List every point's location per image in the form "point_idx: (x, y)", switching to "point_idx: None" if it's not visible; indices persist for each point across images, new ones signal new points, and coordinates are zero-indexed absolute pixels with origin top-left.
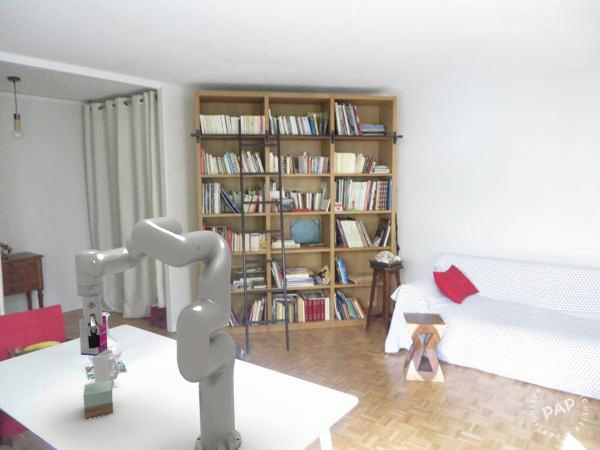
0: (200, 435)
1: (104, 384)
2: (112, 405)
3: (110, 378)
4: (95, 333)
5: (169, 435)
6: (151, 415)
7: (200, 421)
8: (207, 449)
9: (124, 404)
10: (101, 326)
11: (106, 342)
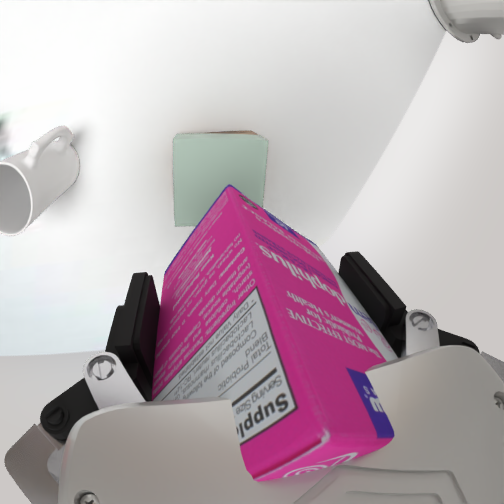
0: (443, 17)
1: (204, 163)
2: (255, 133)
3: (66, 150)
4: (444, 338)
5: (409, 48)
6: (315, 46)
7: (491, 31)
8: (472, 34)
9: (212, 99)
10: (357, 342)
11: (245, 205)
